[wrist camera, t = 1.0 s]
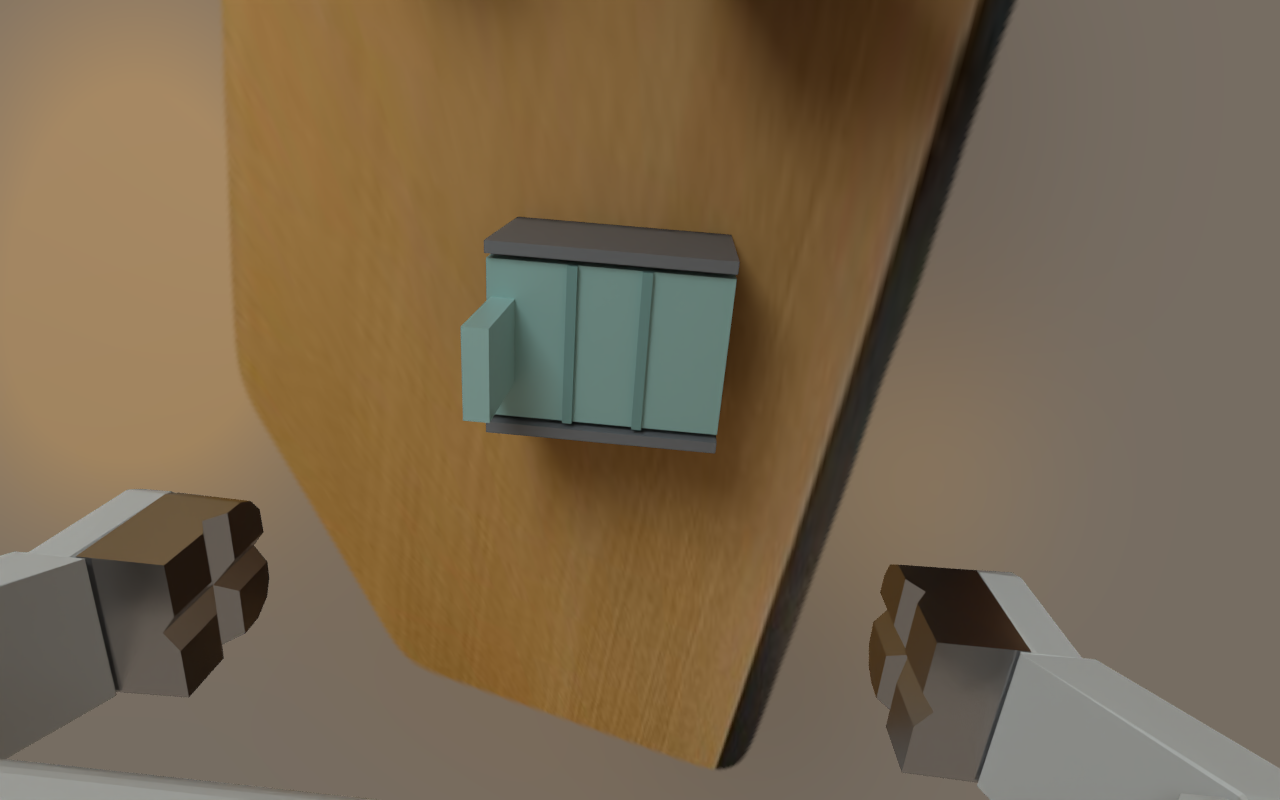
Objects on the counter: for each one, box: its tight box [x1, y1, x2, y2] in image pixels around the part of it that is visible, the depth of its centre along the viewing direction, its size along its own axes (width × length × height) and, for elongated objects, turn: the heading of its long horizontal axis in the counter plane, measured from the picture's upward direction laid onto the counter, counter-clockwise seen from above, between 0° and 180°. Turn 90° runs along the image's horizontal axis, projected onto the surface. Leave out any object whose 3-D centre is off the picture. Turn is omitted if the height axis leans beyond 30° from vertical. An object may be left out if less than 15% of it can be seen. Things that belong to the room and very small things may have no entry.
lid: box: [461, 254, 737, 435], centre depth 34 cm, size 8×12×6 cm
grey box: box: [484, 217, 740, 453], centre depth 39 cm, size 10×12×7 cm
